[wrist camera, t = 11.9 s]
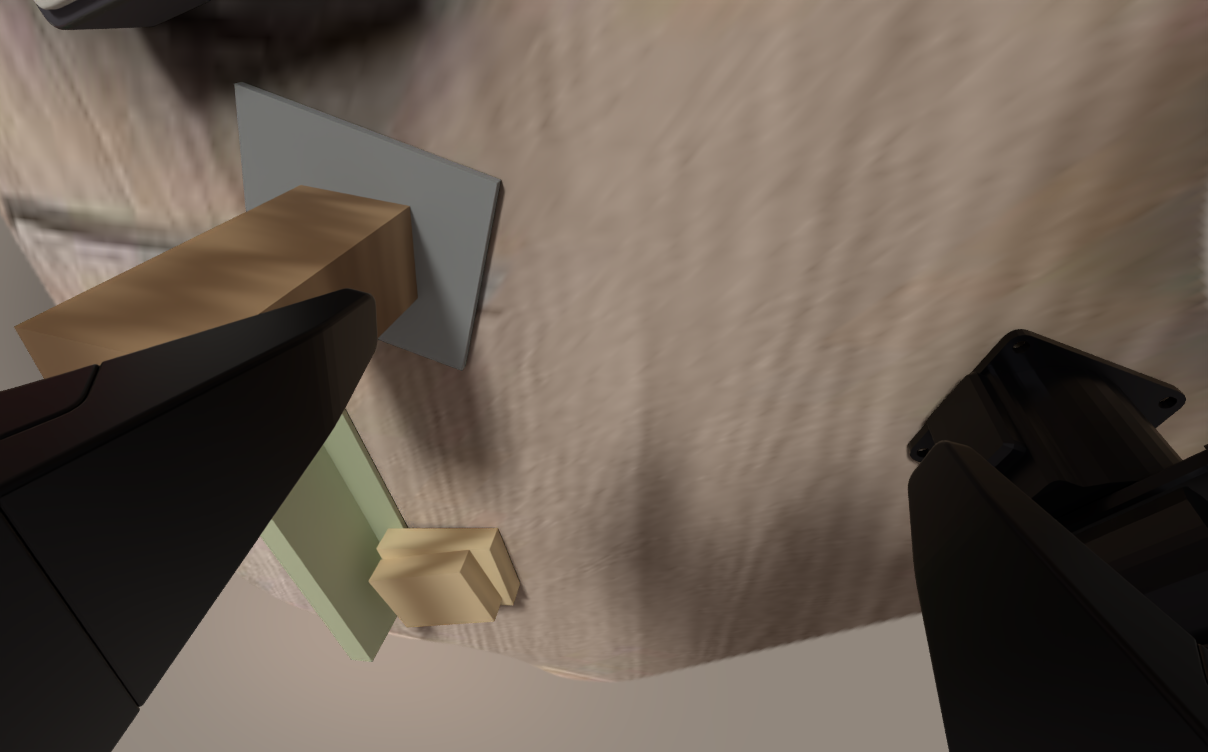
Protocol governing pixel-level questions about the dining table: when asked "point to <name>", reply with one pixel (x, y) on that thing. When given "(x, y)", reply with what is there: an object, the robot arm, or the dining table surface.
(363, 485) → the green flanged rail
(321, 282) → the brown wooden block
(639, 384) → the dining table surface
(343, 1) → the dining table surface
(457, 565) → the offcut upper
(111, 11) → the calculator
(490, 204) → the felt pad
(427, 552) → the offcut lower
